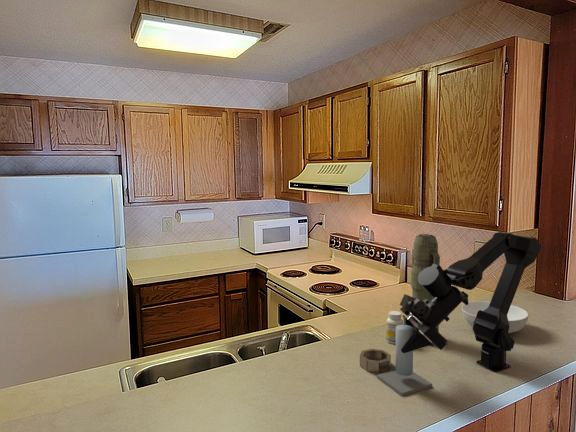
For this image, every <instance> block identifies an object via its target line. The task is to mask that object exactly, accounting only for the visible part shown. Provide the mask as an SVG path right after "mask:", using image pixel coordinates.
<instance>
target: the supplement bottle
mask: <svg viewBox="0 0 576 432" xmlns="http://www.w3.org/2000/svg"><path fill="white" fill-rule="evenodd" d="M397 325H404V319H403V318H402V313H401V311H397V310H391V311H388V318H387V319H386V325H385V326H386V328H385V331H386V337H385V341H386V342H388V343H389V344H391V345H396V343H395V341H396V326H397Z"/></svg>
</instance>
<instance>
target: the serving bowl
mask: <svg viewBox="0 0 576 432" xmlns="http://www.w3.org/2000/svg"><path fill="white" fill-rule="evenodd" d="M490 302H491V300H490V301H489V300H476V301H468V305H465V304H464V303H463V304H462V305H461V313H462V316H463V318H464V320H465V321H466V322H467V323H468V324H469V325H470V326H472V327H473V325H474V323H473V321H474V320H475V318H476V316H477V312H478V311H479V310H482V311H484V310H485V309H487V308H488V307H489V304H490ZM507 317H508V322H509V326H510V327H509V331H508V333H509V334H512V333H515V332H518V331H521V330H522V329H523V328H524V327H526V324H527V323H528V320H529V313H528V311H526V310H525V309H524V308H521V307H519V306H517V305H513V304H511V306H510V309H509V311H508V314H507Z"/></svg>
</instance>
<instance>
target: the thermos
mask: <svg viewBox="0 0 576 432" xmlns="http://www.w3.org/2000/svg"><path fill="white" fill-rule="evenodd" d="M412 247H413V248H412V250H411V253H412V254H411V255H412V256H411V258H412V259H411V272H410V286H411V289H412V290H411V291H412V293H411V294H412V296H411V297H413V298H416V299H417V298H418V299H419V300H422V301H424V300H425V299H429V300H431V299H432V298H433V296H431V295H430V294H429V293H428V292H427V291H426V290H425V289H424V288H423V287H422V286H421V285H420V284H419V282H418V275H419V273H420V272H421V271H423V270H424V269H425V268H428V267H431V266H432V264H433V263H434V264H438V265H440V263H441V256H440V254H439V243H438V241H437V237H436V236H434V235H433V234H427V233H425V234H424V233H422V234H418V235H416V236H415V239H414V241H413V246H412ZM440 266H441V265H440ZM439 326H440V324H439V325H438V326H437V327H436V328H437V329H438V332H439V333H440V327H439ZM417 328H418V329H419V330H420V326H419V327H417ZM432 344H433V345H435V344H434V343H432Z"/></svg>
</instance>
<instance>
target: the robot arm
mask: <svg viewBox="0 0 576 432" xmlns="http://www.w3.org/2000/svg"><path fill="white" fill-rule="evenodd" d="M541 250H542V244H541V243H540V242H539V240H538V239H537V238H536V237H531V236H525V235H524V236H523V235H516V234H514V233H512V232H503V231H498V232H495V233H493V235H492V237H491V239H489V240H488V241H486V242H485V243H484V244H483V245H482V246H481V247H480V248H478V249H477V250H476V251H475V252H474V253H472V254H471V255H470V256H469V257H467V258H464V259H460V260H457V261H455V262H454V263H452V264H450V265H449V266H448V267H447V268H446V269H443V267H442V266H441V265H438V264H434V263H433V264H432V266H431V267H428V268H425V269H424V270H423V271H421V272H420V273H419V275H418V282H419V284H420V285H421V286H422V287H423V288H424V289H425V290H426V291H427V292H428V293H429V294H430V295H431V296H433V298H432V299H431V300H429V299H425V300H424V301H422V300H419V299H418V298H417V299H416V298H413V297H412V296H411V295H408V294H406V293H404V295H402V296H403V297H402V299H401V301H400V302H399V306H400V308H399V310H400V312H402V313H403V315H402V320H403V325H408V326H411V327H413V335H412V336H411V337H410V339H409V340H408V341H407V342H406V344H405V345H404V346H403V348H402V349H401V351H402V352H403V353H407V352H410V351H413V352H414V351H415V350H419V349H422V348H427V347H430V346H431V347H434V346H436V348H438V349H439V350H440V351H442V350H443V349H444V348H445V347H447V344H448V343H447V342H448V341H447V340H448V339H446V338H445V337H444V336H443V334H441V333H440V331H439V332H438V329H437V328H436V327H437V326H438V325H439V326H440V325H441V323H442V322H444V321H446V322H448V321H450V319H451V318H449V317H448V316H449V315H450V314H451V313H452V312H453V311H454V310H455V309H456V308H457V307H458V306H460V304H461V303H462V304H463V305H464V304H465V305H468V302H469V293H467V292H465V291H461V290H460V289H461V288H462V289H463V290H468V291H471V290H473V289H475V288H476V287H477V285H478V284H479V283H480V282H481V281H482V280H483V274H484V271H485V270H487V269H488V268H489V267H491V265H492V264H494V262H495V261H497V260H498V259H499V258H500V257H501V256H502V255H504V258H505V264H504V266H503V269H502V271H501V274H500V276H499V279H498V282H497V284H496V287H495V289H494V292H493V294H492V297H491V300H490V301H491V302H490V304H489V307H488V308H487V309H485V310H484V311H482V310H479V311H478V312H477V316H476V318H475V320H474V321H473V323H474V325H473V326H472V330H473V334H474V338H475V341H477V342H479V343H482V344H481V350H480V359H478V360H476V364H478V365H480V366H482V367H484V368H486V369H487V370H491V371H492V372H495V373H498V372H501V371H504V370H508V369H510V368H512V365H511V364H509V363H507V352H511V351H512V349H514V347H515V342H516V341H515V340H514V338H513V337H512V336H511V334H510V333H508V331H509V327H510V326H509V322H508V317H507V314H508V311H509V309H510V306H511V305H512V304H513V300H514V298H515V295H516V292H517V289H518V287H519V285H520V282H521V279H522V277H523V275H524V272H525V271H526V270H525V269H526V268H527V267H529V266H530V265H532V264H533V263H534V262H535V261H536V259H537V258H538V256H539V253H540V252H541ZM459 288H460V289H459ZM419 326H420V330H419V329H418V328H417V327H419ZM395 343H396V341H395ZM432 343H434V344H432Z"/></svg>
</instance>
